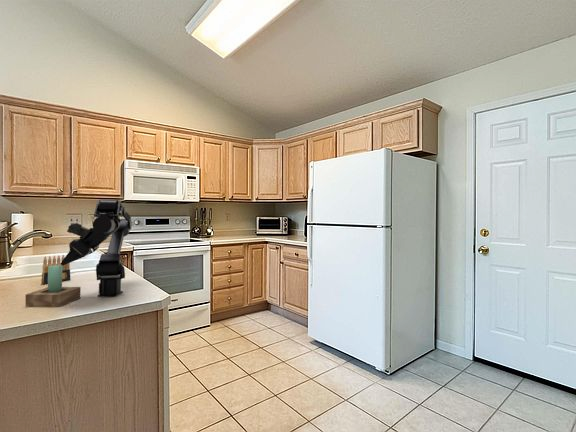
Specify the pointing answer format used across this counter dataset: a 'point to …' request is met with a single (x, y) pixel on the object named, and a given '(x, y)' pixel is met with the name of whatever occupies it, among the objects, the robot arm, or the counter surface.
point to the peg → (54, 279)
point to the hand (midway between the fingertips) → (65, 262)
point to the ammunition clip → (45, 268)
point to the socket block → (52, 297)
